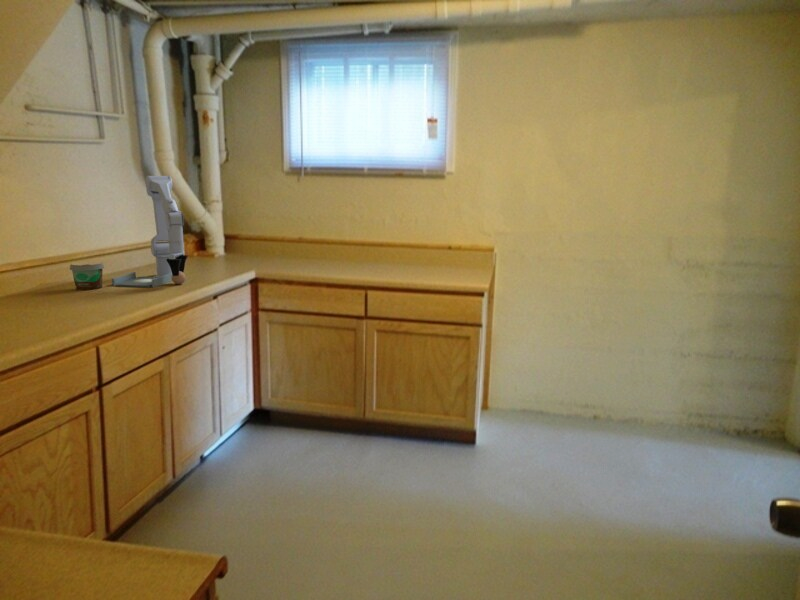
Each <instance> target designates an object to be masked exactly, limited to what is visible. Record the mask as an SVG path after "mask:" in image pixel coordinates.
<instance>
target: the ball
mask: <svg viewBox="0 0 800 600" xmlns="http://www.w3.org/2000/svg"><path fill="white" fill-rule="evenodd" d="M185 281H186V274H185V273H184V272H181V271H179V276H173V274H172V281H171V282H172V283H174V284H175V285H181V284H183V283H185Z"/></svg>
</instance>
